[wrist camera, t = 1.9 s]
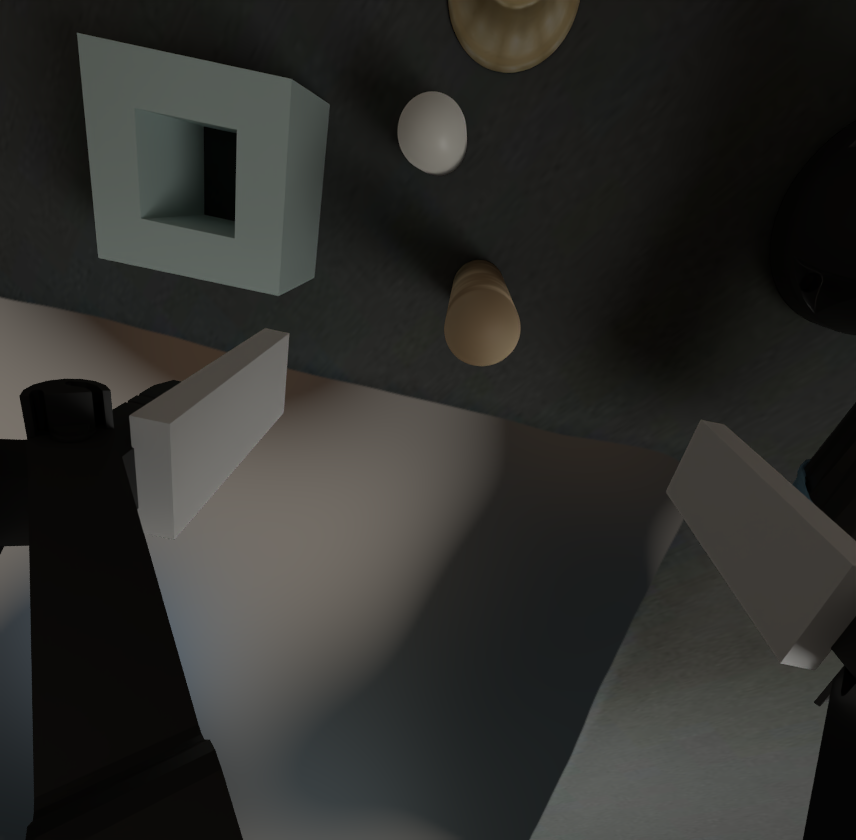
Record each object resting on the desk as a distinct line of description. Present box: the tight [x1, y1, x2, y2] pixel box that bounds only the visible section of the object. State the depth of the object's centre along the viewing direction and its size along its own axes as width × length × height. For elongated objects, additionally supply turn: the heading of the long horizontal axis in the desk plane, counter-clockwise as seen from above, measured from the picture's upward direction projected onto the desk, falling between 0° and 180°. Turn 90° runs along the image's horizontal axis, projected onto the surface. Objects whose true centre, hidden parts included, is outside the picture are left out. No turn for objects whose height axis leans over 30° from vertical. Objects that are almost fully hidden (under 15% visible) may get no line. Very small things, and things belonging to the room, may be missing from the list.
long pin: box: [444, 260, 521, 366], centre depth 32 cm, size 4×4×14 cm
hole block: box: [77, 33, 330, 296], centre depth 33 cm, size 12×12×8 cm
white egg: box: [398, 91, 467, 176], centre depth 31 cm, size 4×4×7 cm
